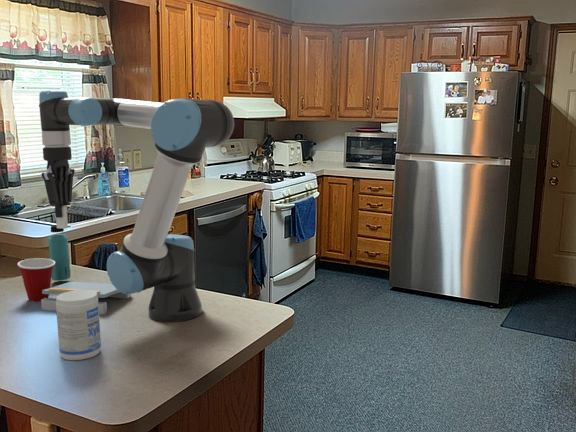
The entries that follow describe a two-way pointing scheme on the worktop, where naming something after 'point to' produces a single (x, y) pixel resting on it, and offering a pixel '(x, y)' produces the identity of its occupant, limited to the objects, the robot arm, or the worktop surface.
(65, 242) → the beverage bottle
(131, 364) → the worktop surface
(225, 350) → the worktop surface
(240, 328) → the worktop surface
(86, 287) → the door
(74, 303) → the supplement tub
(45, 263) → the plastic cup
